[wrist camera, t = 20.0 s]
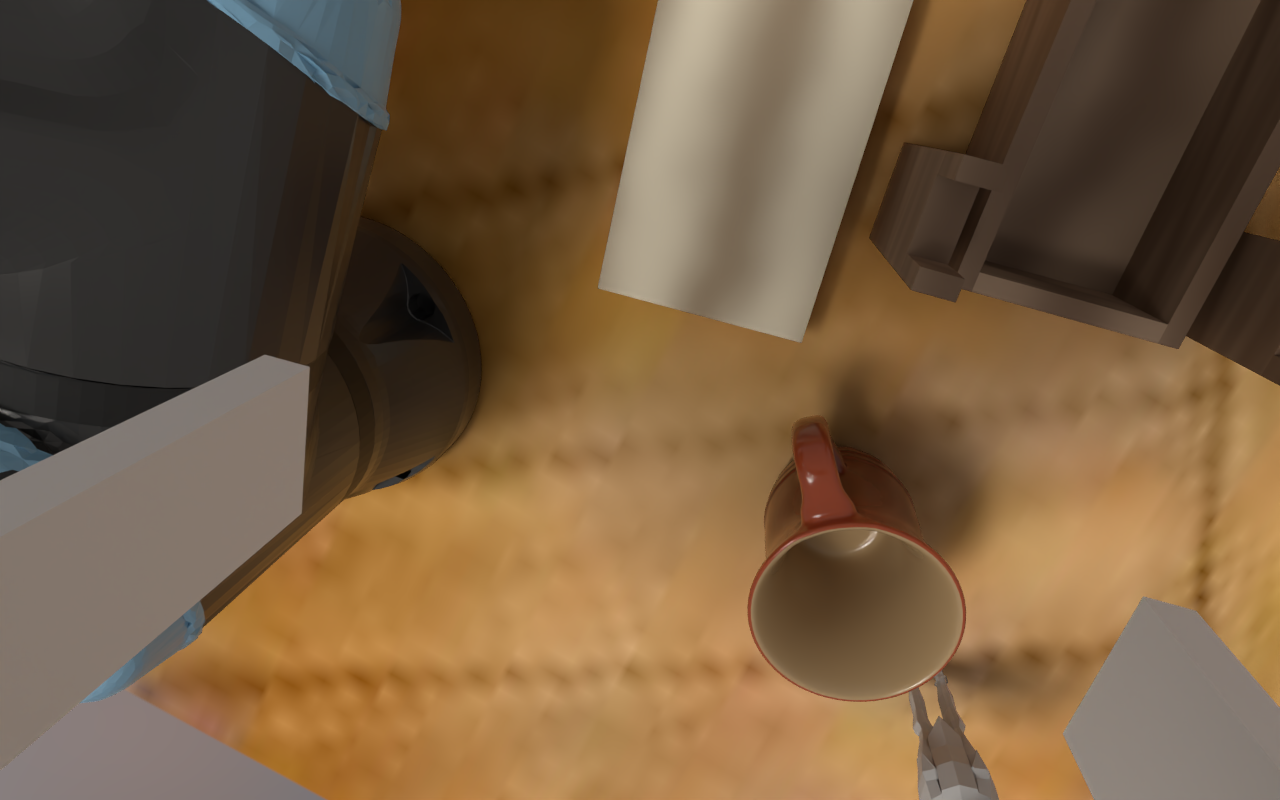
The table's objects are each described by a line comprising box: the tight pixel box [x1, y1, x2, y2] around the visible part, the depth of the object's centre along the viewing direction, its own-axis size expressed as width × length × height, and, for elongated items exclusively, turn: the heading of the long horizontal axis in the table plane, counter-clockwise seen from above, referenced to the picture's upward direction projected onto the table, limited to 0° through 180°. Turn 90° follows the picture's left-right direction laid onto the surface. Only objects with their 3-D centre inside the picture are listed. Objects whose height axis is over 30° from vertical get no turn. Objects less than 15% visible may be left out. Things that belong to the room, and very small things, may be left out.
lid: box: [598, 0, 913, 343], centre depth 34 cm, size 10×15×3 cm, turn 167°
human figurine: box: [909, 670, 999, 800], centre depth 35 cm, size 12×4×18 cm, turn 102°
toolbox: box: [869, 0, 1280, 385], centre depth 27 cm, size 14×14×12 cm
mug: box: [748, 415, 966, 702], centre depth 35 cm, size 12×9×10 cm
